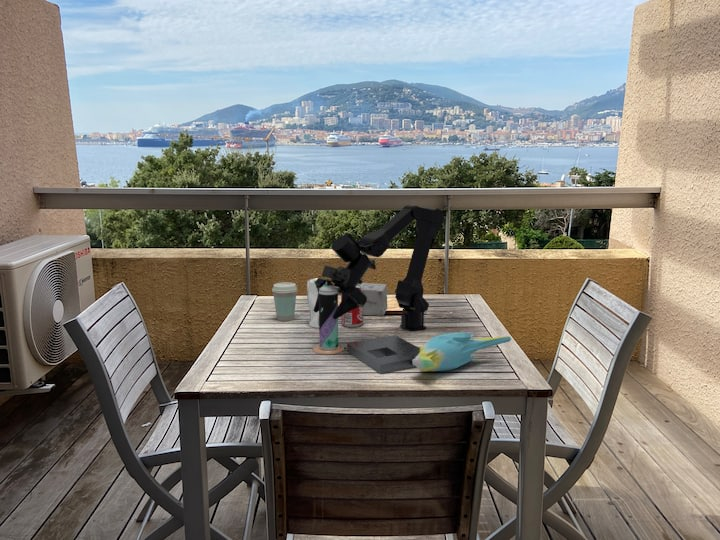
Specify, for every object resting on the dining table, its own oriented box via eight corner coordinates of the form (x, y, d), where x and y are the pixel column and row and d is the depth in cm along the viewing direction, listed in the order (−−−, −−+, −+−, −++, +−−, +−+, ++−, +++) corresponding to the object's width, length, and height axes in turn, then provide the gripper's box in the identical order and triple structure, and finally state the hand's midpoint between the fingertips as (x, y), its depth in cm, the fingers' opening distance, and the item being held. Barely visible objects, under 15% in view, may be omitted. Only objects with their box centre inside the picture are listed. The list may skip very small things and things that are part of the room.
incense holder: (355, 316, 212) (354, 286, 210) (361, 310, 220) (361, 281, 218) (382, 318, 209) (382, 288, 207) (388, 311, 217) (388, 283, 215)
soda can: (360, 328, 197) (360, 289, 195) (339, 327, 199) (338, 288, 196) (365, 322, 204) (364, 284, 202) (344, 321, 206) (343, 283, 203)
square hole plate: (395, 343, 183) (395, 335, 182) (432, 363, 165) (432, 355, 165) (346, 351, 176) (346, 342, 175) (380, 373, 158) (380, 364, 158)
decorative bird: (394, 373, 159) (394, 338, 157) (471, 348, 178) (472, 317, 176) (432, 389, 149) (433, 352, 147) (510, 360, 167) (511, 328, 165)
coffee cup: (303, 317, 210) (302, 283, 208) (287, 323, 203) (286, 288, 201) (283, 314, 215) (282, 280, 212) (267, 320, 208) (266, 285, 205)
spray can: (318, 350, 175) (317, 282, 171) (320, 344, 180) (320, 278, 176) (337, 351, 174) (336, 282, 170) (339, 345, 180) (338, 278, 176)
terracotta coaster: (336, 342, 183) (336, 341, 183) (349, 351, 175) (349, 350, 175) (308, 347, 179) (308, 345, 179) (320, 356, 171) (320, 355, 171)
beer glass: (332, 323, 204) (331, 279, 201) (324, 328, 197) (323, 283, 194) (312, 321, 206) (311, 277, 203) (304, 327, 199) (303, 282, 196)
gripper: (319, 250, 181) (288, 292, 177) (358, 259, 167) (326, 305, 163) (340, 273, 188) (311, 314, 183) (380, 283, 174) (350, 328, 169)
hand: (324, 315), depth 174 cm, fingers open, 9 cm apart
